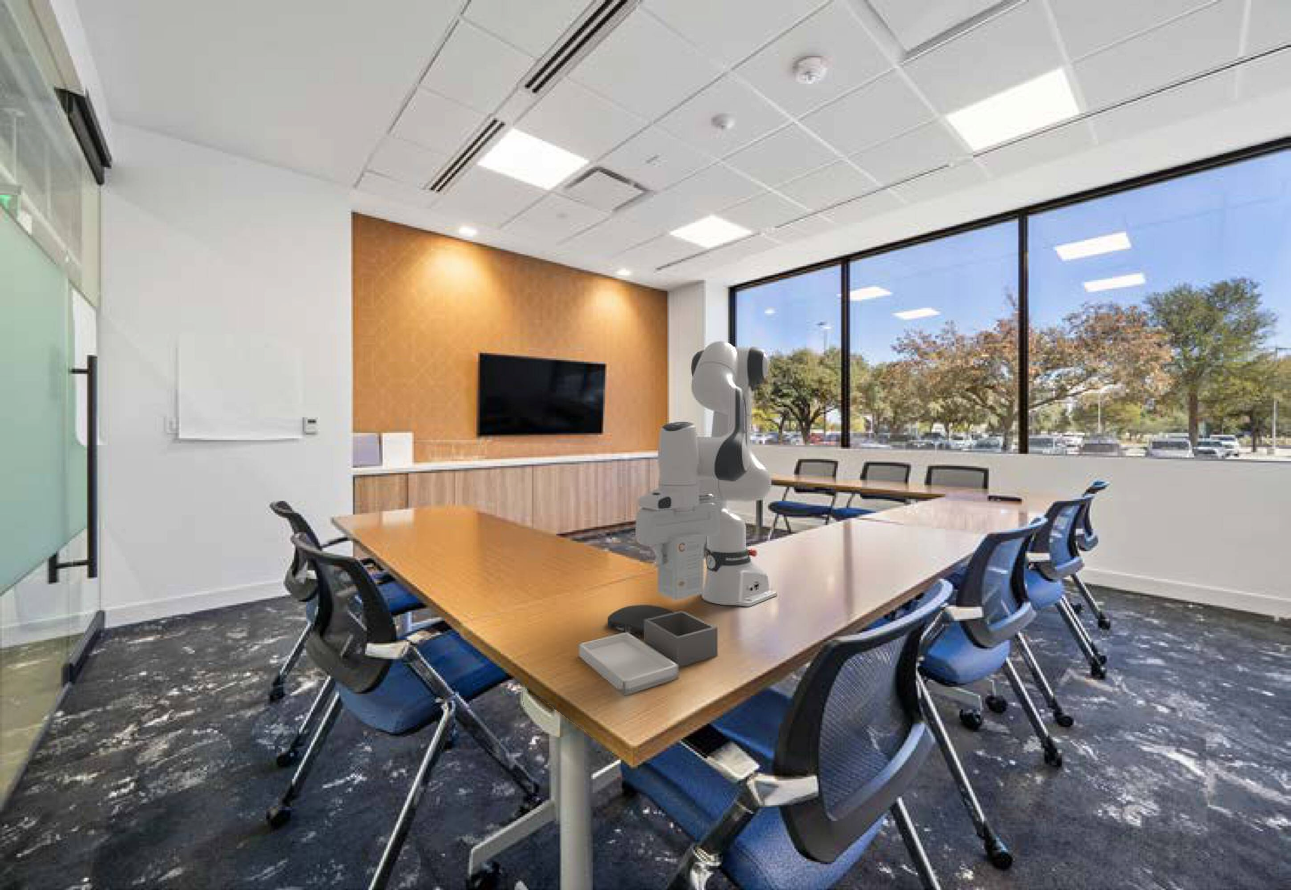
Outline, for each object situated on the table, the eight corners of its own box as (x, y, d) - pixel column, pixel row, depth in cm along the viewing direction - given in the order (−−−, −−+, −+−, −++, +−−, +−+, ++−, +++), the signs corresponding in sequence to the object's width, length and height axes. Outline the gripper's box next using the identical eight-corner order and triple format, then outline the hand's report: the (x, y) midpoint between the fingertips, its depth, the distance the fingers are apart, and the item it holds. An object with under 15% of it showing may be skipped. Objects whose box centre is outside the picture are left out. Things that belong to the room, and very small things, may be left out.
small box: (684, 587, 115) (685, 529, 115) (704, 594, 110) (704, 534, 110) (656, 593, 111) (657, 533, 110) (675, 600, 105) (676, 538, 105)
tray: (627, 643, 116) (627, 632, 115) (678, 678, 99) (678, 665, 98) (578, 655, 109) (578, 644, 109) (624, 695, 92) (624, 682, 92)
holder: (682, 636, 119) (682, 610, 119) (717, 655, 108) (717, 627, 108) (644, 646, 114) (643, 619, 113) (677, 668, 103) (676, 638, 103)
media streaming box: (682, 622, 129) (682, 610, 129) (650, 642, 117) (650, 629, 117) (635, 611, 137) (635, 600, 137) (601, 628, 125) (601, 616, 125)
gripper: (707, 492, 119) (707, 551, 119) (631, 499, 108) (632, 564, 108) (725, 494, 113) (725, 556, 114) (647, 502, 102) (648, 571, 103)
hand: (679, 560), depth 111 cm, fingers closed on small box, 8 cm apart
